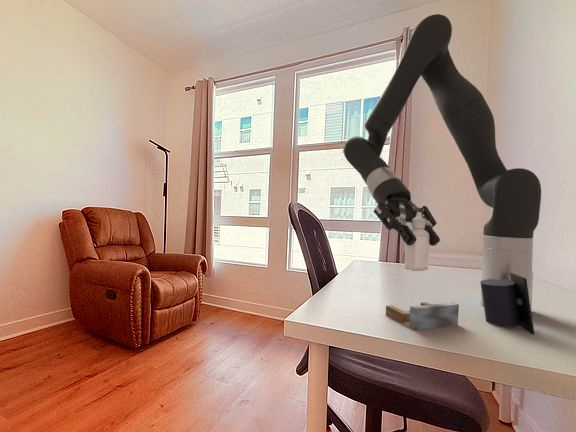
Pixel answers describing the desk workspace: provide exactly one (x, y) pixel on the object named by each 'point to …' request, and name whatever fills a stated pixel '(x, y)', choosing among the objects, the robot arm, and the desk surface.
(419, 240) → the eye dropper bottle
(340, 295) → the desk surface
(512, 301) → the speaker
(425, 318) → the grey brown angular piece
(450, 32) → the robot arm
